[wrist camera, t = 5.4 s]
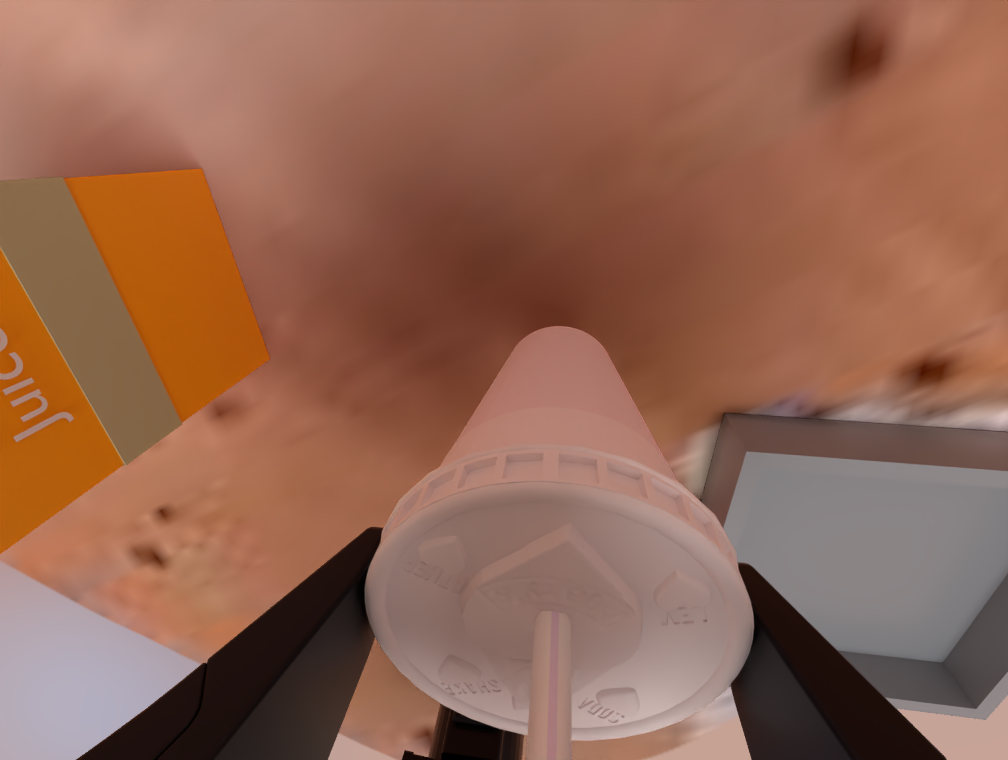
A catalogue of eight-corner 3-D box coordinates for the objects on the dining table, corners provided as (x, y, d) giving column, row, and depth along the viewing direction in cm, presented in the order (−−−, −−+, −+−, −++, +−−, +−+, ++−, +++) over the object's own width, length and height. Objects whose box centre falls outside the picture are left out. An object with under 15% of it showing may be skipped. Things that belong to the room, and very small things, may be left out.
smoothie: (675, 298, 14) (1347, 1244, 2) (632, 463, 17) (793, 1257, 5) (472, 274, 15) (-7, 928, 2) (464, 439, 18) (226, 1114, 5)
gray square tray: (944, 662, 27) (985, 719, 24) (666, 630, 28) (677, 680, 26) (1107, 438, 20) (1192, 485, 17) (724, 413, 21) (746, 451, 19)
